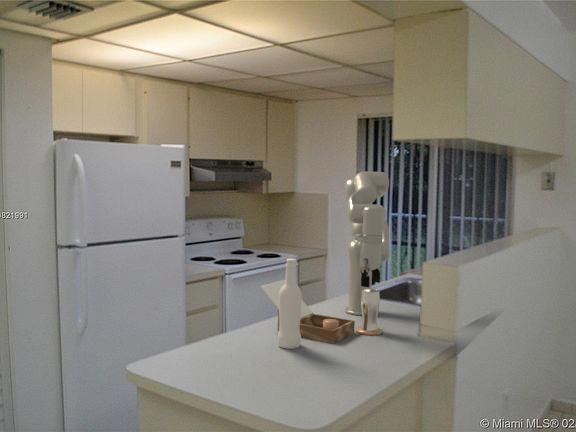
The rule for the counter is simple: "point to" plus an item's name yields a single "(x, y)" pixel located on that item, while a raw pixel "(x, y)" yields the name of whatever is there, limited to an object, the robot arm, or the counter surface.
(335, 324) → the peach rounded cylinder
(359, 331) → the orange dish
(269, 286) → the propped lid
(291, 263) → the bottle
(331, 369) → the counter surface
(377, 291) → the beer glass
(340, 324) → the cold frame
